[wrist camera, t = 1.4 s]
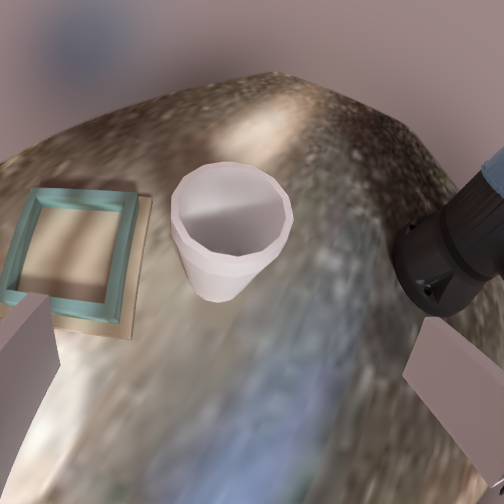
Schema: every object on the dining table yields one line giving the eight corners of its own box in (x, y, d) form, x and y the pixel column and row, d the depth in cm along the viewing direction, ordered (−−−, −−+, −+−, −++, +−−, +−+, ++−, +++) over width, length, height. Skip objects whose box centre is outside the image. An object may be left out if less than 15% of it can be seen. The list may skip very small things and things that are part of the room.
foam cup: (195, 226, 38) (202, 147, 27) (268, 255, 38) (304, 186, 27) (160, 296, 33) (148, 234, 22) (241, 329, 33) (271, 284, 22)
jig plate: (152, 202, 38) (150, 184, 35) (132, 339, 30) (125, 332, 27) (35, 195, 35) (27, 179, 32) (-1, 317, 28) (-16, 308, 25)
